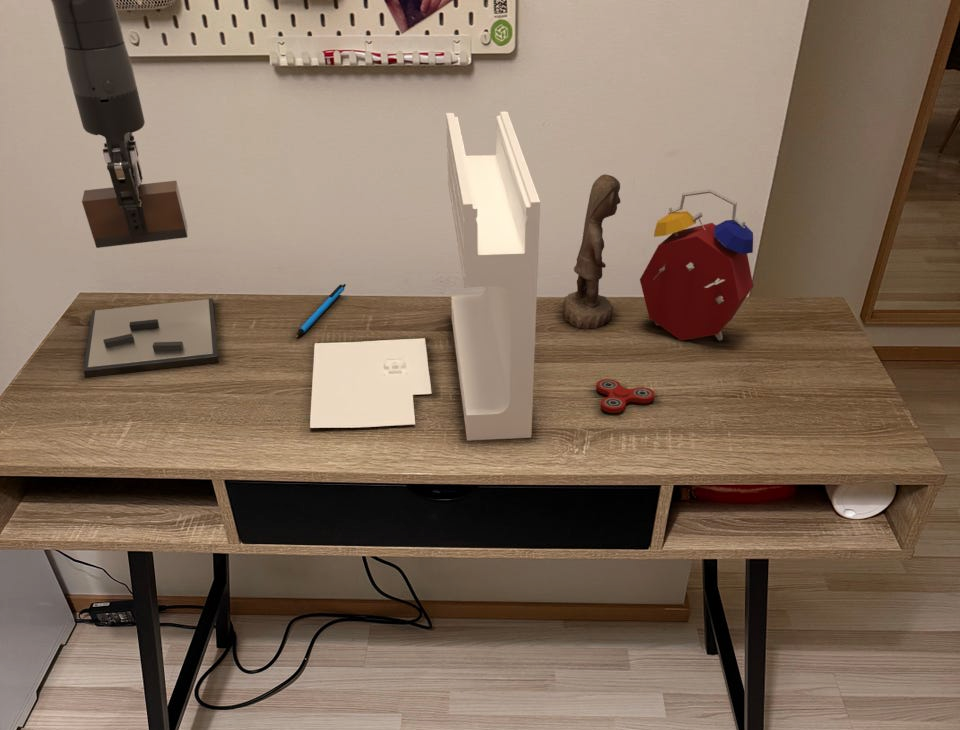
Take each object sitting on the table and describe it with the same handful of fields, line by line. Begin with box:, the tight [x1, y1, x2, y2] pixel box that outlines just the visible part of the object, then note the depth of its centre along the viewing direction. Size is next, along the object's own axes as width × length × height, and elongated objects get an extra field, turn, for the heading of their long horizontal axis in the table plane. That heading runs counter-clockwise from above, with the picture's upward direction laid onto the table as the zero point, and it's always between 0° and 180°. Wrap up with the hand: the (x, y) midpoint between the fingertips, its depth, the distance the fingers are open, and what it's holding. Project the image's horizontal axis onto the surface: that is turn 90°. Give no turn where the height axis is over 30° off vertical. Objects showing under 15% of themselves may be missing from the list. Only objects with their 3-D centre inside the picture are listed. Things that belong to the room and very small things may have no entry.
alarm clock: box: [639, 189, 754, 341], centre depth 130 cm, size 15×9×20 cm, turn 59°
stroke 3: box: [153, 341, 183, 351], centre depth 132 cm, size 4×1×1 cm, turn 94°
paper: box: [309, 337, 432, 429], centre depth 126 cm, size 25×17×1 cm
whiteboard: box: [83, 298, 220, 378], centre depth 136 cm, size 18×20×1 cm
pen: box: [295, 283, 347, 338], centre depth 143 cm, size 1×19×1 cm, turn 165°
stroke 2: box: [129, 319, 159, 330], centre depth 137 cm, size 4×1×1 cm, turn 104°
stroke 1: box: [103, 334, 134, 348], centre depth 133 cm, size 4×1×1 cm, turn 119°
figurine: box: [562, 174, 621, 330], centre depth 135 cm, size 9×8×20 cm
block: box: [445, 111, 541, 441], centre depth 119 cm, size 35×8×28 cm, turn 4°
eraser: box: [81, 180, 188, 249], centre depth 125 cm, size 12×4×6 cm, turn 103°
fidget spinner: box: [595, 378, 656, 414], centre depth 123 cm, size 8×7×1 cm
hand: (140, 228), depth 126 cm, fingers closed on eraser, 4 cm apart
